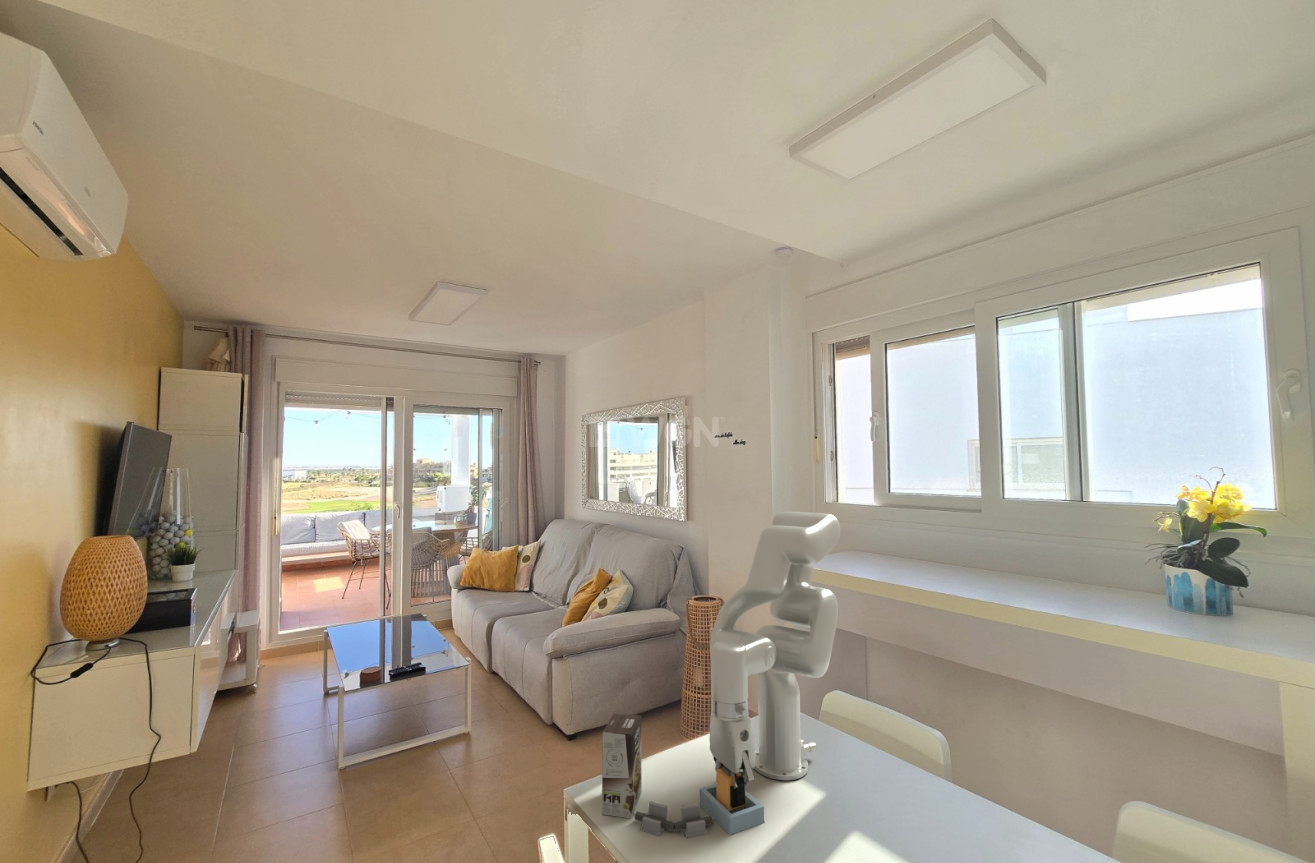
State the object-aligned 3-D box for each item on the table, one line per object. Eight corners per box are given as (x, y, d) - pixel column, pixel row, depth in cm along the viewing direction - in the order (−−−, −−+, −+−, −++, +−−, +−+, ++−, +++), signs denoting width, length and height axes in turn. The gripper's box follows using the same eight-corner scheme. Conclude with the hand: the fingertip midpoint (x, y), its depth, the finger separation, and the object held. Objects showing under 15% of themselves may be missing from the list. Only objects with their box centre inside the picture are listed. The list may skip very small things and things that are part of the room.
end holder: (731, 792, 118) (731, 778, 118) (764, 822, 108) (764, 806, 108) (699, 803, 114) (699, 788, 114) (730, 835, 104) (730, 818, 105)
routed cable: (712, 820, 108) (712, 815, 108) (712, 833, 104) (712, 827, 104) (635, 816, 109) (635, 811, 109) (632, 828, 105) (632, 823, 105)
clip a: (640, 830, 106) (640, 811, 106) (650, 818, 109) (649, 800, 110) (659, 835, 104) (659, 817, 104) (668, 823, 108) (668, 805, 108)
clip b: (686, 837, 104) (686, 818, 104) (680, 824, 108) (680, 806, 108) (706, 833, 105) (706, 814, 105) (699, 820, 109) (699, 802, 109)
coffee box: (632, 819, 109) (632, 734, 110) (600, 815, 110) (601, 731, 111) (642, 792, 118) (642, 714, 119) (613, 789, 119) (613, 711, 120)
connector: (732, 794, 114) (732, 760, 114) (744, 805, 110) (744, 770, 111) (716, 800, 112) (716, 765, 112) (727, 811, 108) (727, 775, 109)
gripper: (771, 718, 107) (772, 817, 106) (722, 687, 122) (723, 774, 120) (739, 726, 103) (740, 829, 102) (692, 694, 118) (693, 783, 117)
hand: (731, 798), depth 111 cm, fingers closed on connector, 3 cm apart
